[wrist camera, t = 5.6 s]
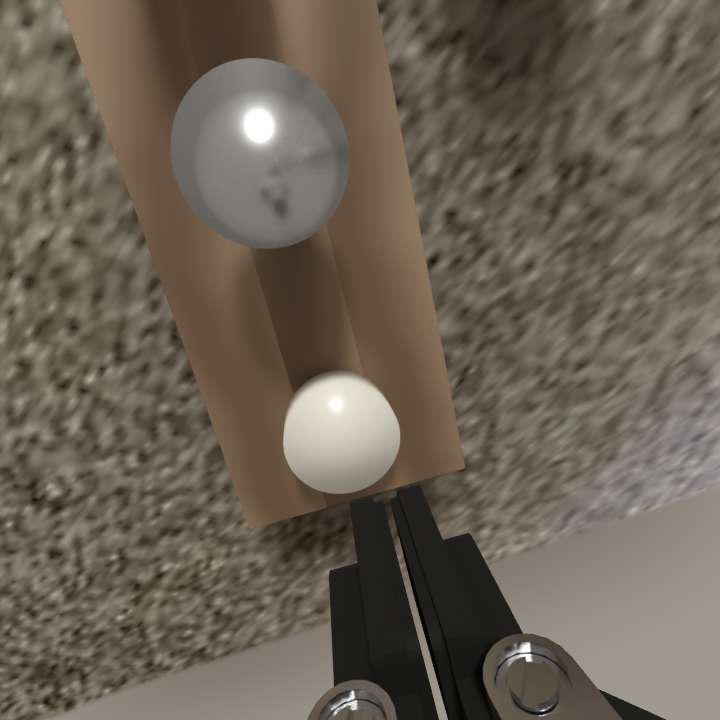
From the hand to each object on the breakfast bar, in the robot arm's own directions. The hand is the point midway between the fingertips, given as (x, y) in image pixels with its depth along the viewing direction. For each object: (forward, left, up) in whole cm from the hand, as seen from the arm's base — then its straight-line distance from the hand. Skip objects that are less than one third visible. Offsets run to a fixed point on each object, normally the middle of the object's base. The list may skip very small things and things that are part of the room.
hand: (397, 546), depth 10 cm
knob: (+1, 0, -14) cm, 14 cm away
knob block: (+1, -9, -15) cm, 18 cm away
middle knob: (+1, -9, -11) cm, 15 cm away
